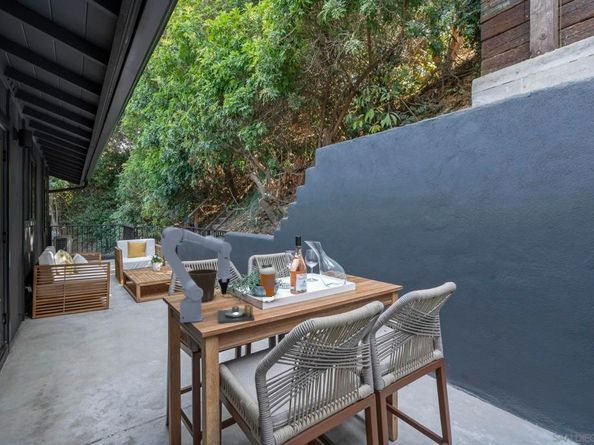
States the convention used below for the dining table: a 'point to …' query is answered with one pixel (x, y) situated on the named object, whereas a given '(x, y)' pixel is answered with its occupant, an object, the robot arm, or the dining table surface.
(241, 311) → the flange
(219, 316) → the base plate
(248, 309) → the dowel
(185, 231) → the robot arm
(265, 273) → the glass of beer
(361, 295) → the dining table surface
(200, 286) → the plant pot
